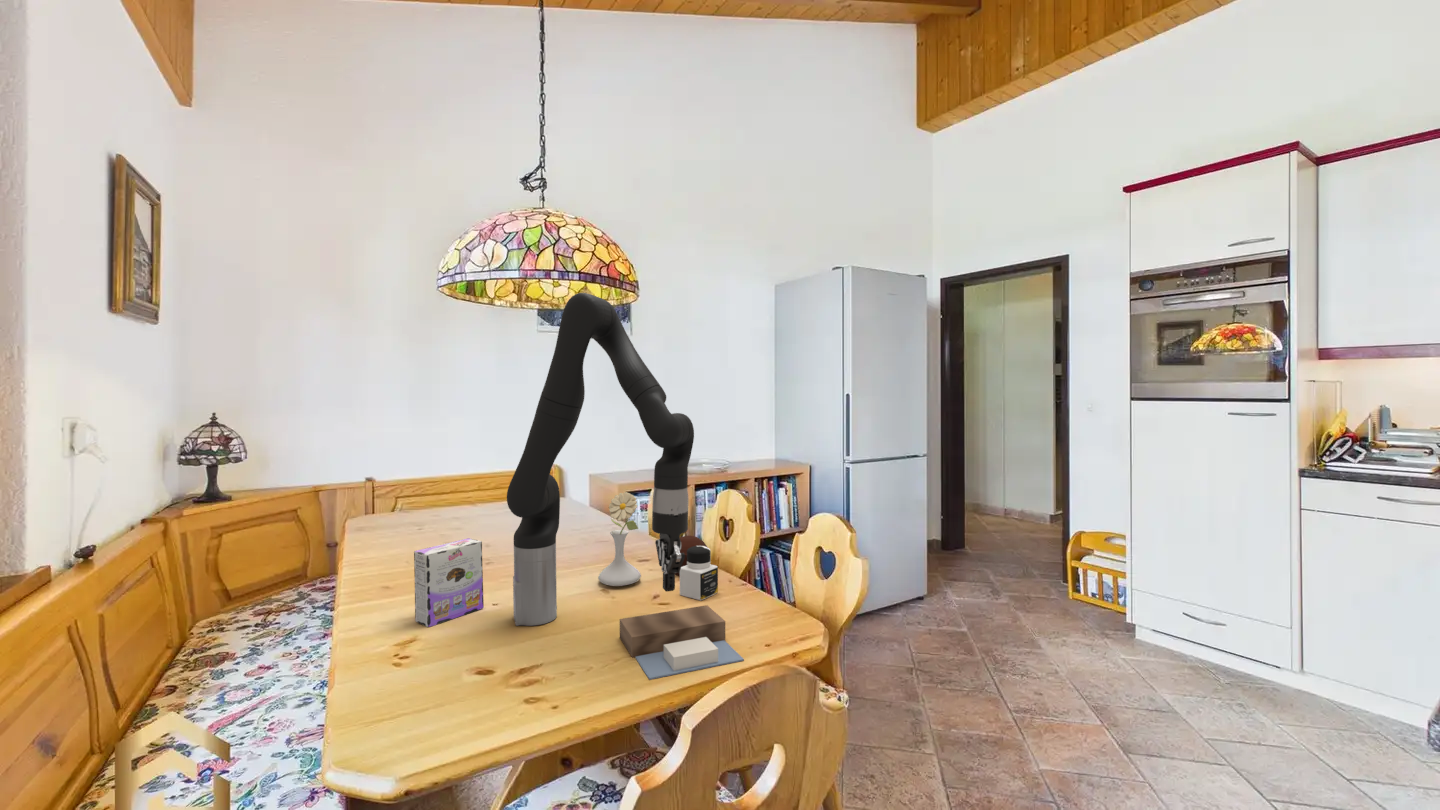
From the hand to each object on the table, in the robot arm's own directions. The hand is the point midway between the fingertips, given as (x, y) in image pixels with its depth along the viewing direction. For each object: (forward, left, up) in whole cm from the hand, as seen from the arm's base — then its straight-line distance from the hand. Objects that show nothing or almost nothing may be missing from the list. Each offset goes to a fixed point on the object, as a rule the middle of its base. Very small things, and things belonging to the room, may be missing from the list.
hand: (668, 590), depth 127 cm
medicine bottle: (+15, +22, -10) cm, 29 cm away
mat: (0, -11, -10) cm, 15 cm away
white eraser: (0, -12, -7) cm, 14 cm away
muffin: (+19, +40, -10) cm, 46 cm away
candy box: (-43, +32, -10) cm, 54 cm away
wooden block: (0, -1, -10) cm, 10 cm away
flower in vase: (-1, +38, -10) cm, 39 cm away
